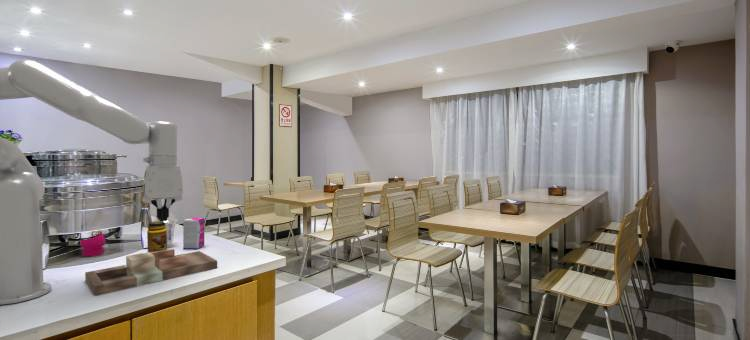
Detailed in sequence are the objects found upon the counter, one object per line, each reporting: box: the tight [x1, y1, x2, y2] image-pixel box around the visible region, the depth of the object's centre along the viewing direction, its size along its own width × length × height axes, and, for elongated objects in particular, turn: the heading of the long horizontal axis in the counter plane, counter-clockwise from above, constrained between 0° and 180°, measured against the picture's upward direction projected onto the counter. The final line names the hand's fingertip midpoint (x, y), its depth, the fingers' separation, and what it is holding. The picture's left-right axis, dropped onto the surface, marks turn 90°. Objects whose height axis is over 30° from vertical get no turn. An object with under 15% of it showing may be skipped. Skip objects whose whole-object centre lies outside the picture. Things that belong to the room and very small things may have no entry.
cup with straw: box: [152, 199, 179, 249], centre depth 143 cm, size 8×9×20 cm
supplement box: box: [182, 217, 206, 251], centre depth 142 cm, size 6×6×12 cm
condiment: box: [145, 221, 168, 253], centre depth 132 cm, size 7×8×12 cm
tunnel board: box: [84, 248, 218, 296], centre depth 112 cm, size 32×15×6 cm, turn 136°
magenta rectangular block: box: [79, 231, 106, 257], centre depth 131 cm, size 7×7×20 cm
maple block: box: [125, 251, 155, 274], centre depth 109 cm, size 6×6×4 cm
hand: (162, 220), depth 113 cm, fingers closed
